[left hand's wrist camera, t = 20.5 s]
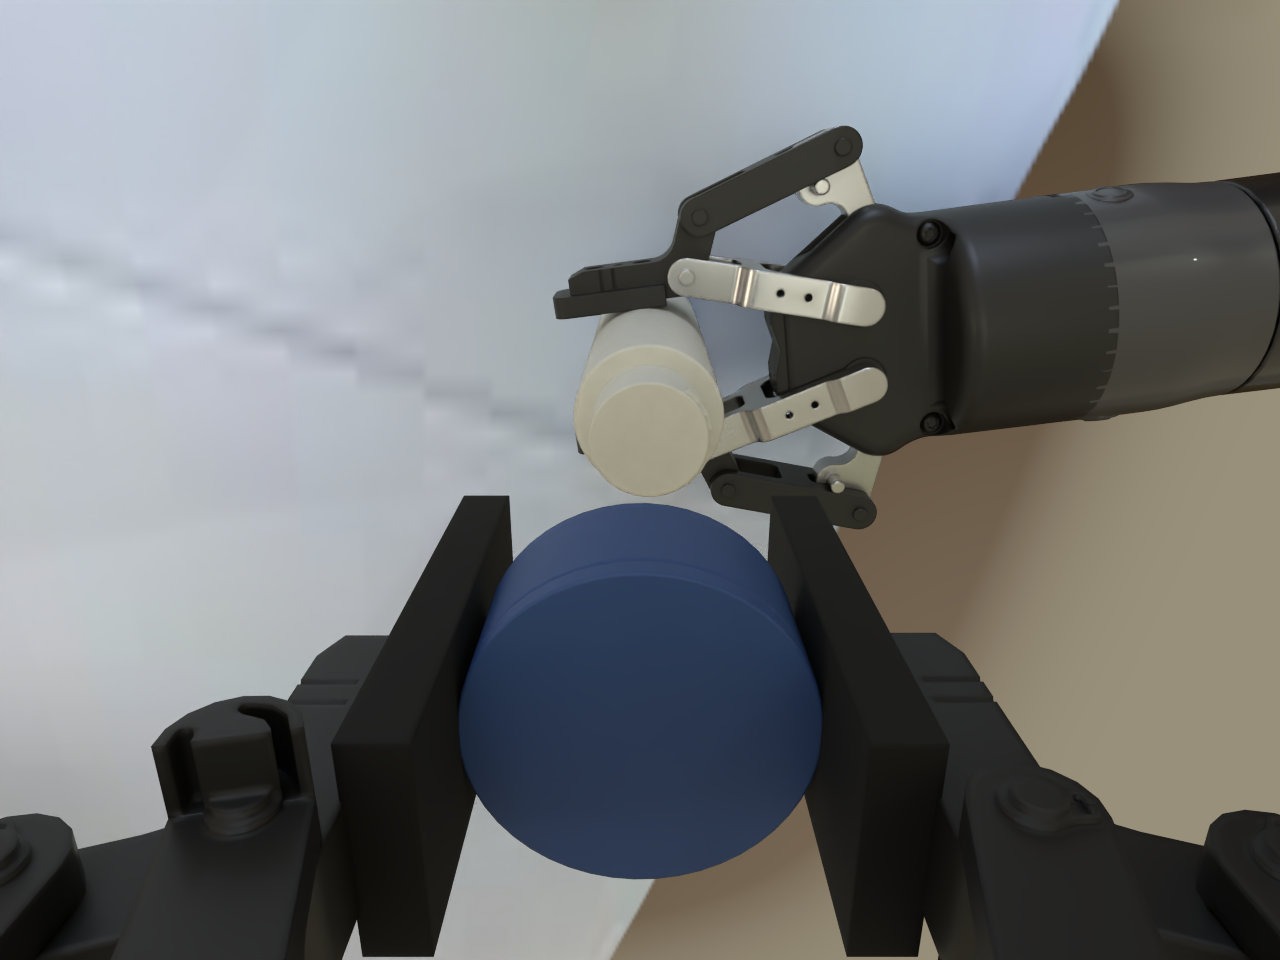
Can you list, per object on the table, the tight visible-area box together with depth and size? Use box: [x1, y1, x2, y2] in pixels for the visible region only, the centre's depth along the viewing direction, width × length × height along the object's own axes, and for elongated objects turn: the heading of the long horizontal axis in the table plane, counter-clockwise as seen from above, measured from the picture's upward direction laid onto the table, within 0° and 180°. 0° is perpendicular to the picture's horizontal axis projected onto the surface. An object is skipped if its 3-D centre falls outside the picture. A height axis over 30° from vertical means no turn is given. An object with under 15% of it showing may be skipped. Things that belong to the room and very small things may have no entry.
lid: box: [458, 503, 823, 879], centre depth 11 cm, size 4×4×2 cm
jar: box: [574, 296, 724, 497], centre depth 28 cm, size 4×4×15 cm
